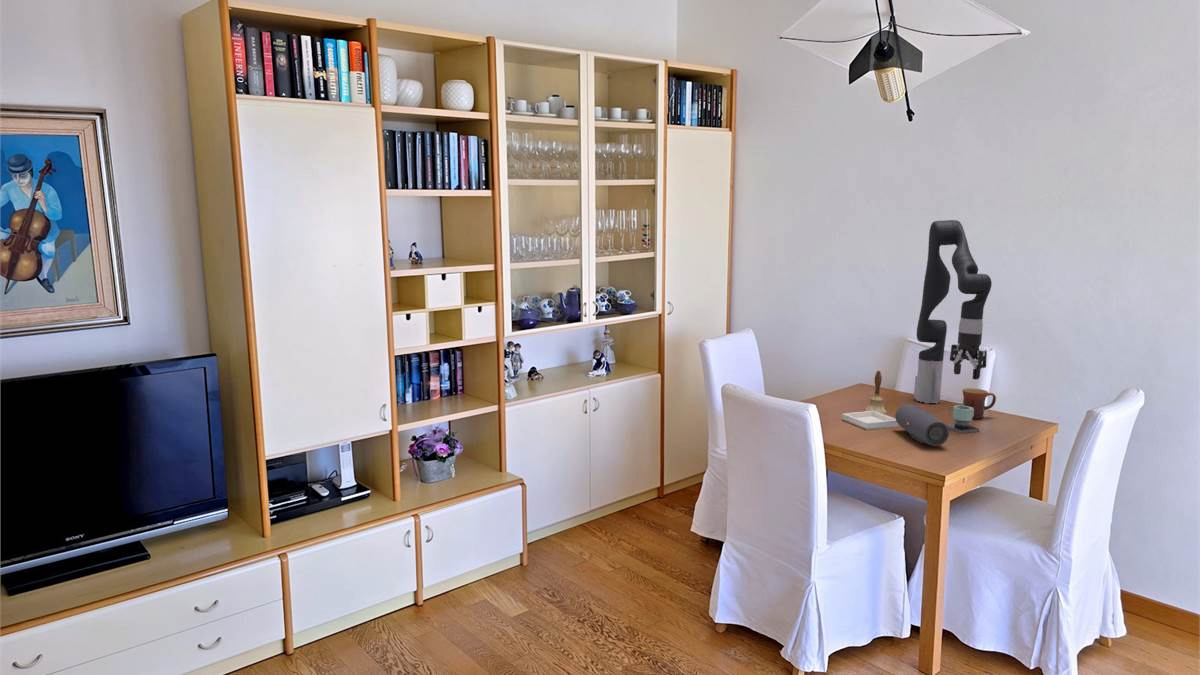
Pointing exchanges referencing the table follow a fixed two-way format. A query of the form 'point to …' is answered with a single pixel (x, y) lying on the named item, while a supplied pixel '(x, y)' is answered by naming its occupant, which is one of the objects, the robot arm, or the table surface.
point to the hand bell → (877, 397)
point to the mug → (977, 401)
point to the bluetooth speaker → (922, 425)
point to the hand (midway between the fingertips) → (966, 376)
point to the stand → (962, 426)
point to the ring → (963, 413)
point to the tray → (870, 420)
